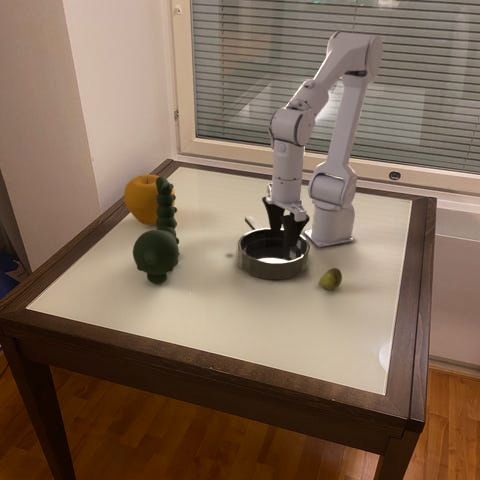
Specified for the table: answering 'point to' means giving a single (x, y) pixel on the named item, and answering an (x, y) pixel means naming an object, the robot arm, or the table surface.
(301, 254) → the skillet
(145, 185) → the apple
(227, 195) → the table surface
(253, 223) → the skillet handle
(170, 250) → the toy figurine
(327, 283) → the lime
